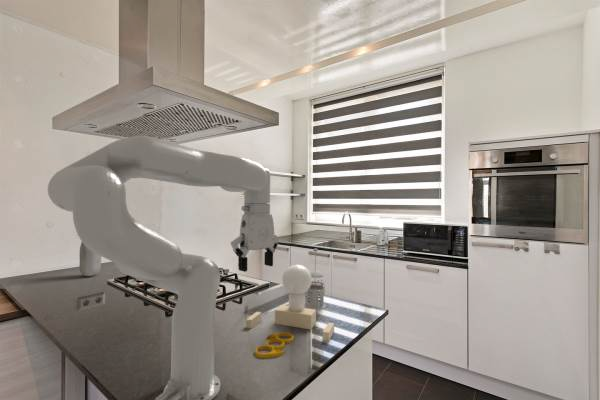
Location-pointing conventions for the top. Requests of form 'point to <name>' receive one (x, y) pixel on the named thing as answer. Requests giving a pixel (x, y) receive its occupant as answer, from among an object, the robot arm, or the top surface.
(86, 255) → the glass bottle
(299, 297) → the cream blocks and ball
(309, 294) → the french press
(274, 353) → the novelty glasses
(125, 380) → the top surface
